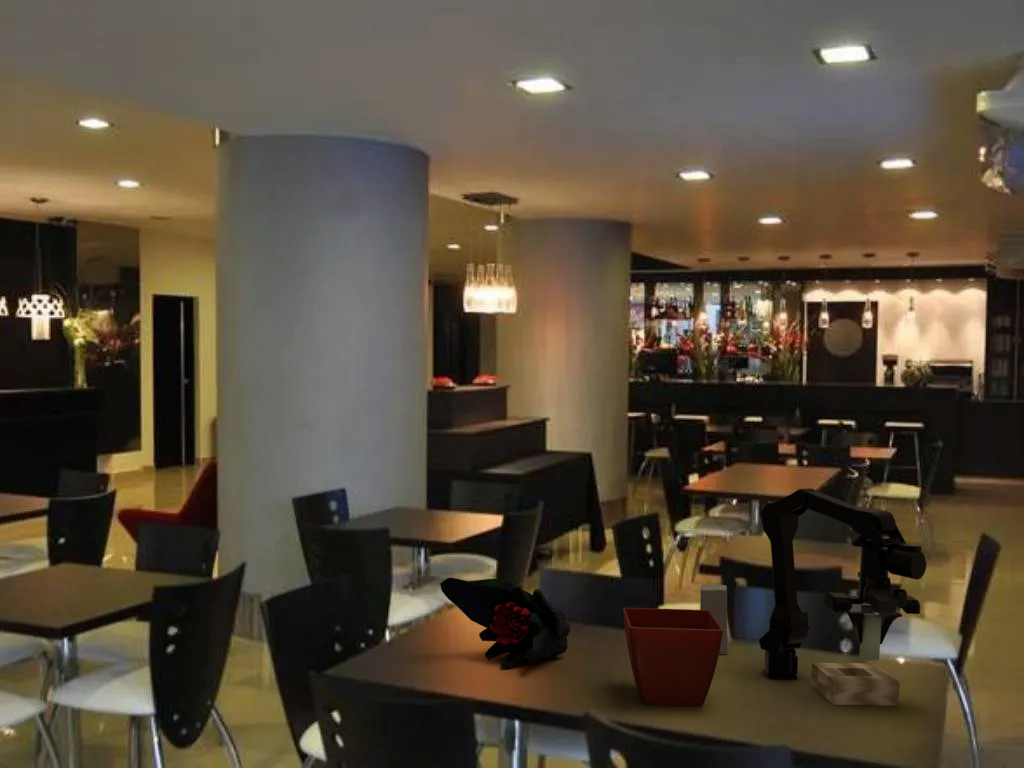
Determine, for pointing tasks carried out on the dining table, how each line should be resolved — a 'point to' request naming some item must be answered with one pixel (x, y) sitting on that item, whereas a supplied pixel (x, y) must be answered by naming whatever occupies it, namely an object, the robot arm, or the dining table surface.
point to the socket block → (855, 684)
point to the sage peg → (870, 637)
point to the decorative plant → (510, 618)
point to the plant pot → (672, 653)
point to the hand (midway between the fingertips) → (869, 643)
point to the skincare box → (716, 608)
